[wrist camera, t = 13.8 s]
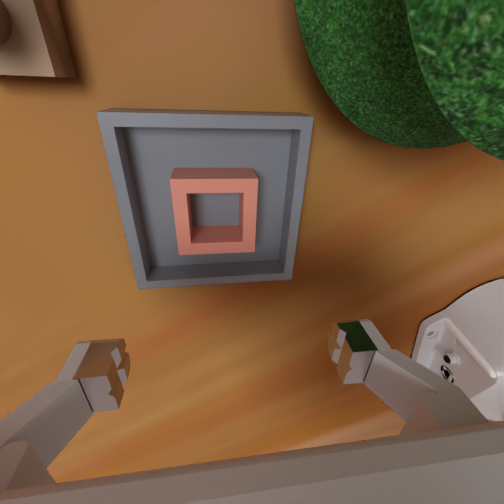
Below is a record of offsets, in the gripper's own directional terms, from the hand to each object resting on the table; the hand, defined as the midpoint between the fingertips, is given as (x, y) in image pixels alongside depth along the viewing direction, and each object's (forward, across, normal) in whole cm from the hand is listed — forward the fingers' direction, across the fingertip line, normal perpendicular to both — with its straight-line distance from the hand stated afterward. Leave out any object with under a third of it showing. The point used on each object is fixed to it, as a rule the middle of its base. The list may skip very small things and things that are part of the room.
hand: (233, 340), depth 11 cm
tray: (+15, 0, -1) cm, 15 cm away
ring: (+14, 0, -1) cm, 14 cm away
